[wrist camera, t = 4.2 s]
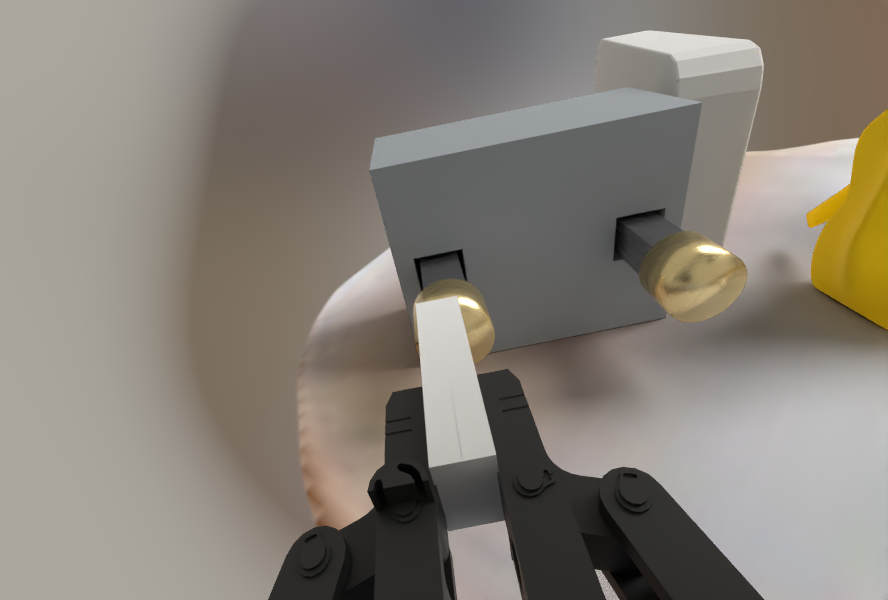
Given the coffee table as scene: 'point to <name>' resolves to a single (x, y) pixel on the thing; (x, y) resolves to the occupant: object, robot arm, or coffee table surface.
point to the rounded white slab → (722, 113)
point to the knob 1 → (448, 281)
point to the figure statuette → (857, 231)
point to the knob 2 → (679, 266)
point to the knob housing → (539, 206)
